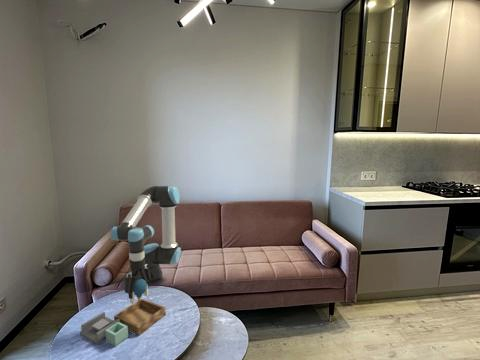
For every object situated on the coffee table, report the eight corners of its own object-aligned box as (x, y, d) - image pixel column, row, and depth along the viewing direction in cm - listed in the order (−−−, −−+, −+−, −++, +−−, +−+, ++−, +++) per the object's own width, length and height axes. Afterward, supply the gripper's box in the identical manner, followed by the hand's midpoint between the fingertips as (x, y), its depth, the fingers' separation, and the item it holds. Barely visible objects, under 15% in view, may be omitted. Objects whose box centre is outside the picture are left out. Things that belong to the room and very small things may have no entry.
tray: (142, 305, 160) (141, 298, 160) (165, 315, 151) (165, 307, 151) (114, 323, 144) (113, 316, 144) (139, 335, 135) (138, 327, 135)
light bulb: (142, 306, 141) (141, 284, 139) (127, 304, 143) (126, 282, 141) (150, 297, 149) (149, 276, 148) (136, 295, 151) (135, 274, 149)
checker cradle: (105, 319, 148) (104, 310, 147) (122, 327, 141) (122, 318, 141) (79, 335, 136) (78, 325, 135) (97, 345, 129) (96, 335, 129)
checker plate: (102, 320, 142) (102, 318, 142) (110, 324, 139) (110, 322, 139) (91, 327, 137) (91, 325, 137) (99, 331, 134) (99, 329, 134)
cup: (118, 332, 138) (118, 321, 137) (128, 337, 134) (127, 326, 133) (106, 341, 132) (105, 330, 131) (115, 346, 128) (115, 335, 127)
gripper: (147, 250, 154) (149, 288, 157) (114, 264, 135) (117, 307, 139) (157, 252, 150) (159, 291, 153) (124, 268, 132) (127, 311, 135)
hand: (139, 299), depth 146 cm, fingers closed on light bulb, 8 cm apart
